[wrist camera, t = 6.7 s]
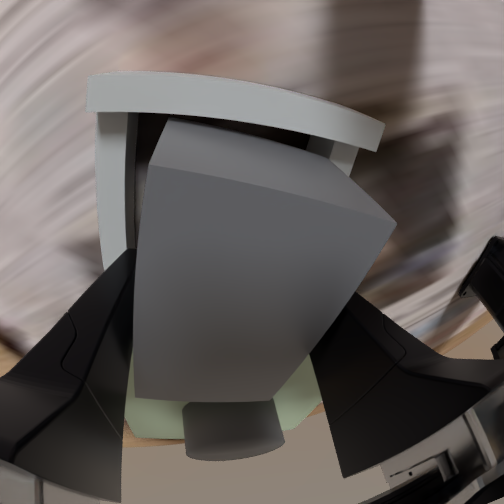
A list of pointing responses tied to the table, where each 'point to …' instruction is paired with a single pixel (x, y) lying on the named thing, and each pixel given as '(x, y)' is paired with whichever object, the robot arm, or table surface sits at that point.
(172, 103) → the green block with frame
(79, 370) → the robot arm
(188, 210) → the gray rectangular prism
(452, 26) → the table surface
